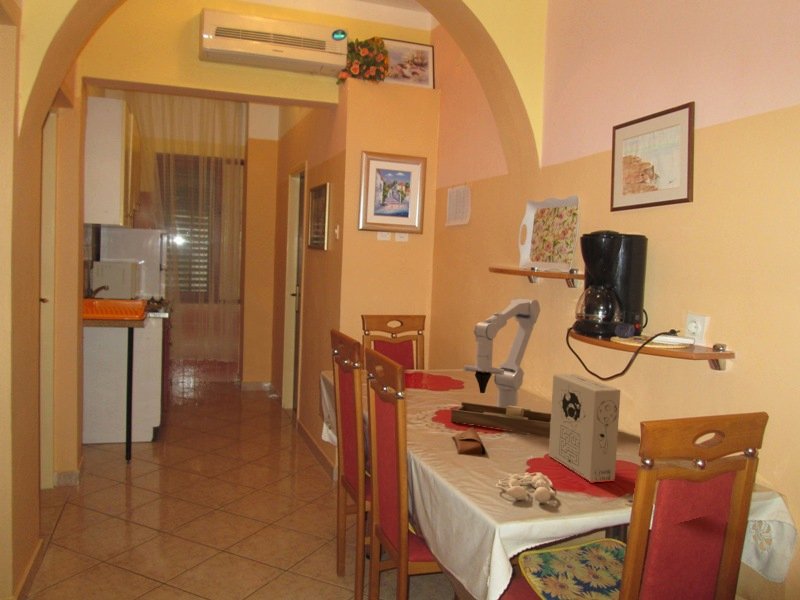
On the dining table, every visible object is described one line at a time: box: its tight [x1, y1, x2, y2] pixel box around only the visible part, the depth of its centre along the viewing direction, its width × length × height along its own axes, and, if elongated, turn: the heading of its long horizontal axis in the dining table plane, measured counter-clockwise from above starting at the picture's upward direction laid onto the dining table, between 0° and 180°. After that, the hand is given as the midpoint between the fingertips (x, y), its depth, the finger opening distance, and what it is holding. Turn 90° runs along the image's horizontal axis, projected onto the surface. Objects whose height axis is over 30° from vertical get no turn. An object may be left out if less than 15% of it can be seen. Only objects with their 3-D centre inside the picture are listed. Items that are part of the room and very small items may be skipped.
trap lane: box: [450, 401, 551, 438], centre depth 215 cm, size 13×34×5 cm, turn 67°
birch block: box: [506, 405, 524, 417], centre depth 214 cm, size 5×5×4 cm
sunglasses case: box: [451, 426, 486, 456], centre depth 191 cm, size 18×7×7 cm, turn 3°
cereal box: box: [548, 373, 621, 481], centre depth 172 cm, size 22×8×25 cm, turn 17°
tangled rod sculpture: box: [495, 471, 556, 504], centre depth 157 cm, size 19×14×4 cm
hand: (482, 392), depth 223 cm, fingers closed
